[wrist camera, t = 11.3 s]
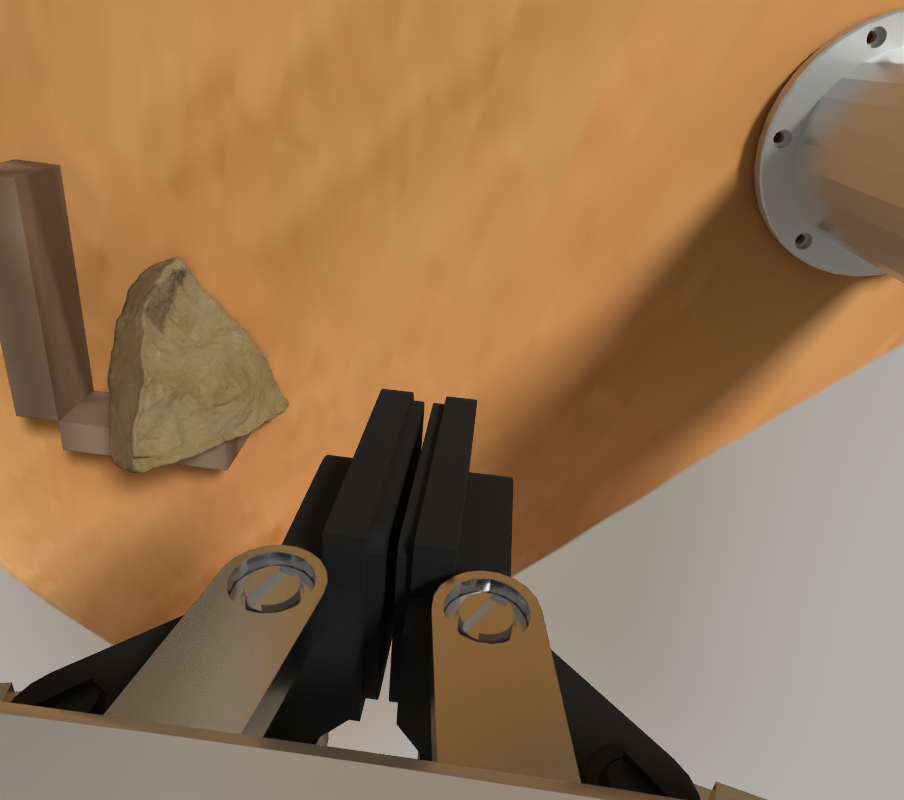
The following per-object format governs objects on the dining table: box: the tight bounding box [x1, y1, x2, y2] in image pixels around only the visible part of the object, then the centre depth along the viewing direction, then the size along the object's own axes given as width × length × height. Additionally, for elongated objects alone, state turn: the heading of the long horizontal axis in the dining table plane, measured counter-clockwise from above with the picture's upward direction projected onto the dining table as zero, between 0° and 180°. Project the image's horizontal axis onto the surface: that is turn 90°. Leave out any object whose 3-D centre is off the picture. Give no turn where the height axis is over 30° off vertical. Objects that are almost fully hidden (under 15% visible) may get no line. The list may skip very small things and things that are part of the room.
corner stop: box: [0, 160, 248, 470], centre depth 39 cm, size 12×16×4 cm
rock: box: [108, 257, 289, 473], centre depth 39 cm, size 11×9×10 cm
